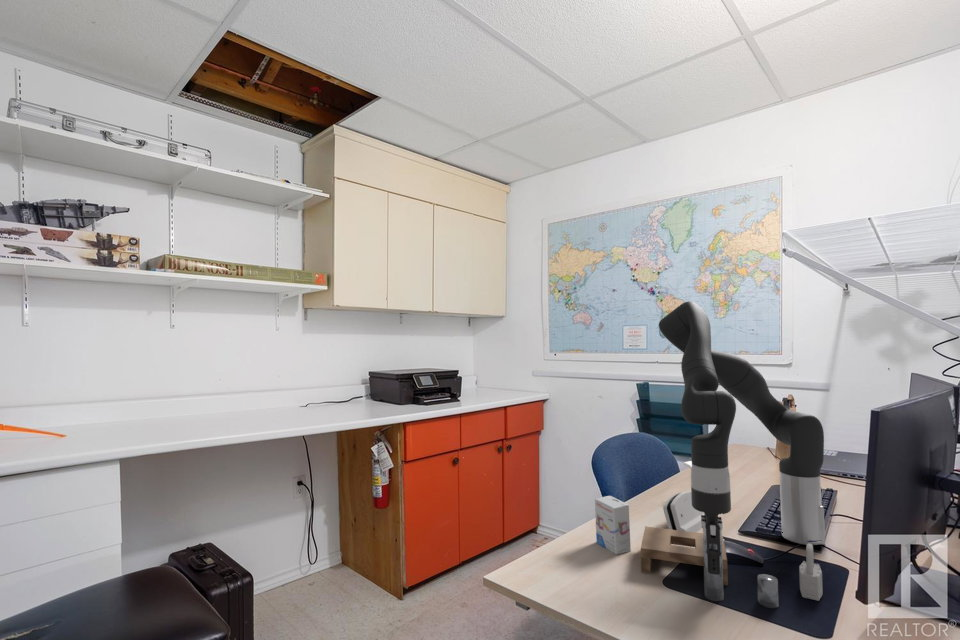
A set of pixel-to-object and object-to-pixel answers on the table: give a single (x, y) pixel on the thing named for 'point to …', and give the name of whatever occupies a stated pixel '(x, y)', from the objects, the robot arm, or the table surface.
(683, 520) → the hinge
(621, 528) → the ink box
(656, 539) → the wooden stand with hole
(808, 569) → the padlock
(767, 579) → the short pin
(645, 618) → the table surface
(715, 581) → the long pin
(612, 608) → the table surface
